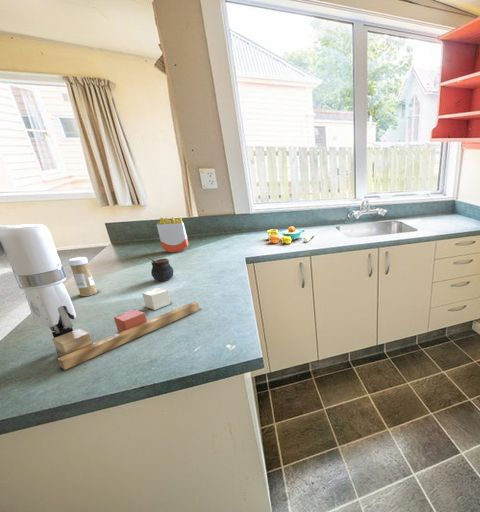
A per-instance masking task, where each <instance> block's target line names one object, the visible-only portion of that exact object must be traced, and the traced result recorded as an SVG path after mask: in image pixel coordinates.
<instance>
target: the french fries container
mask: <svg viewBox="0 0 480 512" xmlns="http://www.w3.org/2000/svg"><path fill="white" fill-rule="evenodd" d="M156 227H157V233H158V236H159V241H160V245H161V249H163V250H164V251H166V252H167V253H180V252H183V251H184V250H185V249H186V248H187V247H188V246H189V240H188V235H187V232H186V227H185V223H184V222H183V219H182V217H178V218H175V217H174V216H171V220H170V219H168V217H165V218H164V217H159V221H158V222H157V224H156Z"/></svg>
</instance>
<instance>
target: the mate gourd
mask: <svg viewBox="0 0 480 512" xmlns="http://www.w3.org/2000/svg"><path fill="white" fill-rule="evenodd" d="M146 258H147V259H149V260H150V261H151V262H150V263H151V271H150V274H151V277H152V278H153V279H154V280H155V281H158V282H165V281H169V280H171V279H172V278H173V277H174V268H173V267H172V265H171V264H170V261H169V258H165V257H164V258H157V259H152V258H151V257H149V256H146Z"/></svg>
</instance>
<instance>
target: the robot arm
mask: <svg viewBox="0 0 480 512" xmlns="http://www.w3.org/2000/svg"><path fill="white" fill-rule="evenodd" d="M5 257H6V258H7V260H8V263H9V265H10V268H11V270H12V273H13V274H14V277H15V280H16V283H17V285H18V287H19V289H20V290H24V294H25V298H26V300H27V304H28V307H29V310H30V312H31V315H32V318H33V319H34V320H35V321H36V322H38V323H39V324H42V325H44V326H46V327H49V329H50V331H51V335H52V337H53V338H55V337H58V336H61V335H64V334H66V333H69V332H72V331H74V330H73V326H74V325H73V323H72V321H71V320H75V319H76V318H77V313H76V310H75V307H74V304H73V302H72V299H71V297H70V295H69V292H68V290H67V288H66V286H65V284H64V282H65V281H66V280H67V276H66V273H65V270H64V267H63V265H62V262H61V258H60V256H59V253H58V250H57V247H56V244H55V242H54V239H53V236H52V234H51V231H50V229H49V228H48V227H47V226H46V225H44V224H39V223H38V224H36V223H35V224H34V223H33V224H19V225H3V224H0V259H1V258H5Z"/></svg>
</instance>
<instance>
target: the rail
mask: <svg viewBox="0 0 480 512" xmlns="http://www.w3.org/2000/svg"><path fill="white" fill-rule="evenodd" d="M198 311H200V306H199V302H196V301H193V302H190V303H188V304H185V305H183V306H180V307H178V308H176V309H173V310H170V311H168V312H165V313H163V314H160V315H159V316H156V317H154V318H152V319H148V320H147V322H144V323H142V324H139V325H137V326H135V327H132V328H130V329H127V330H125V331H123V332H120V333H119V332H117V333H115V334H113V335H110V336H108V337H106V338H104V339H101V340H99V341H96V342H93V344H91V345H89V346H86V347H84V348H82V349H79V350H77V351H74V352H72V353H70V354H67V355H65V356H62V357H60V356H59V357H58V358H57V360H58V363H59V365H60V368H61V369H63V370H64V371H65V370H68V369H70V368H72V367H75V366H77V365H79V364H82V363H84V362H86V361H88V360H91V359H93V358H96V357H97V356H99V355H101V354H104V353H106V352H108V351H110V350H113V349H115V348H117V347H119V346H122V345H124V344H127V343H129V342H131V341H133V340H135V339H137V338H139V337H142V336H144V335H146V334H150V333H151V332H153V331H155V330H158V329H160V328H162V327H164V326H166V325H169V324H171V323H173V322H176V321H179V320H180V319H182V318H184V317H187V316H189V315H191V314H193V313H196V312H198Z"/></svg>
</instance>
